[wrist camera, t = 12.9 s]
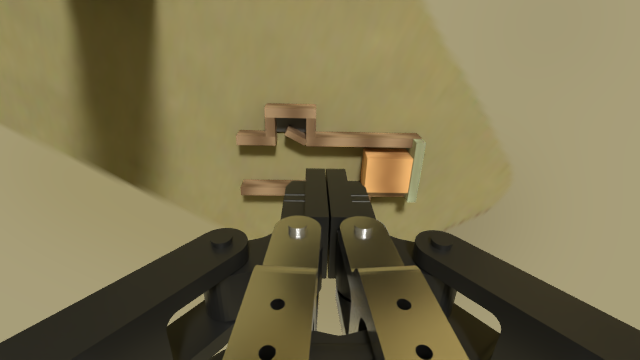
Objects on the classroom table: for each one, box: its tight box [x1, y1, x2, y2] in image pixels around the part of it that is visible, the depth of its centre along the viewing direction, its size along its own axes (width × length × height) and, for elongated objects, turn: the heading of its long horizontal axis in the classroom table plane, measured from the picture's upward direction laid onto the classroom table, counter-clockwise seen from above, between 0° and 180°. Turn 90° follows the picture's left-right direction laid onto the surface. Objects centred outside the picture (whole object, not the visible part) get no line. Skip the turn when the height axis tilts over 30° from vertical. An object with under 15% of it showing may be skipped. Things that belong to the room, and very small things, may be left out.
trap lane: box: [236, 103, 426, 202], centre depth 45 cm, size 24×16×4 cm, turn 89°
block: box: [360, 148, 413, 193], centre depth 46 cm, size 6×5×4 cm
